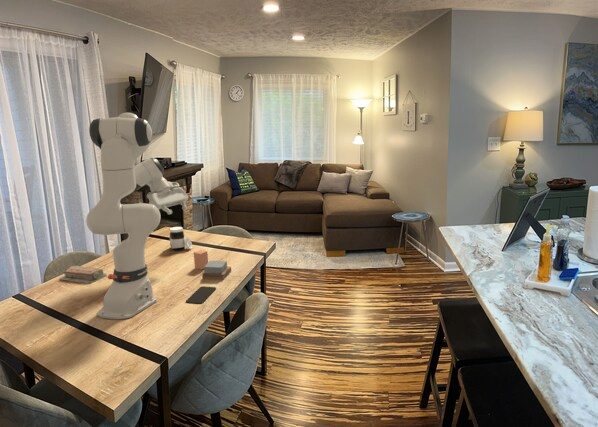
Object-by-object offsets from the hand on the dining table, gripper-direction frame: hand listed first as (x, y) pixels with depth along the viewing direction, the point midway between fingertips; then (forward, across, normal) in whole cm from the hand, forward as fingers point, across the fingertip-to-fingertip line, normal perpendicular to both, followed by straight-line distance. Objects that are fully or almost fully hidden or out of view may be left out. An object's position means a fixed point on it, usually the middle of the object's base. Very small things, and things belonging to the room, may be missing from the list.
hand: (178, 211), depth 194 cm
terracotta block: (+28, 0, +10) cm, 29 cm away
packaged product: (0, -35, +38) cm, 52 cm away
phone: (+43, -24, -6) cm, 50 cm away
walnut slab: (+37, -4, +1) cm, 37 cm away
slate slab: (+35, -4, -1) cm, 35 cm away
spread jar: (+6, +16, +32) cm, 36 cm away
